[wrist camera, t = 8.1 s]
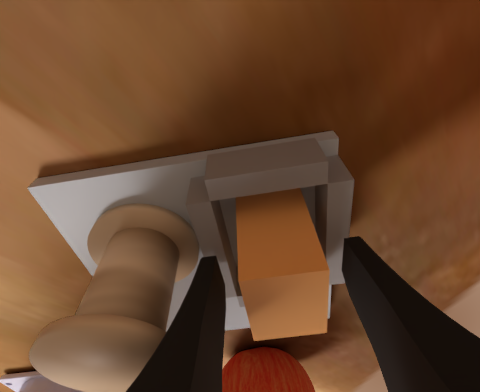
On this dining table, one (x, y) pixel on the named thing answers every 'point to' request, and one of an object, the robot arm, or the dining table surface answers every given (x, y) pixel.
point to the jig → (211, 201)
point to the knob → (119, 300)
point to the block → (281, 266)
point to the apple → (265, 372)
